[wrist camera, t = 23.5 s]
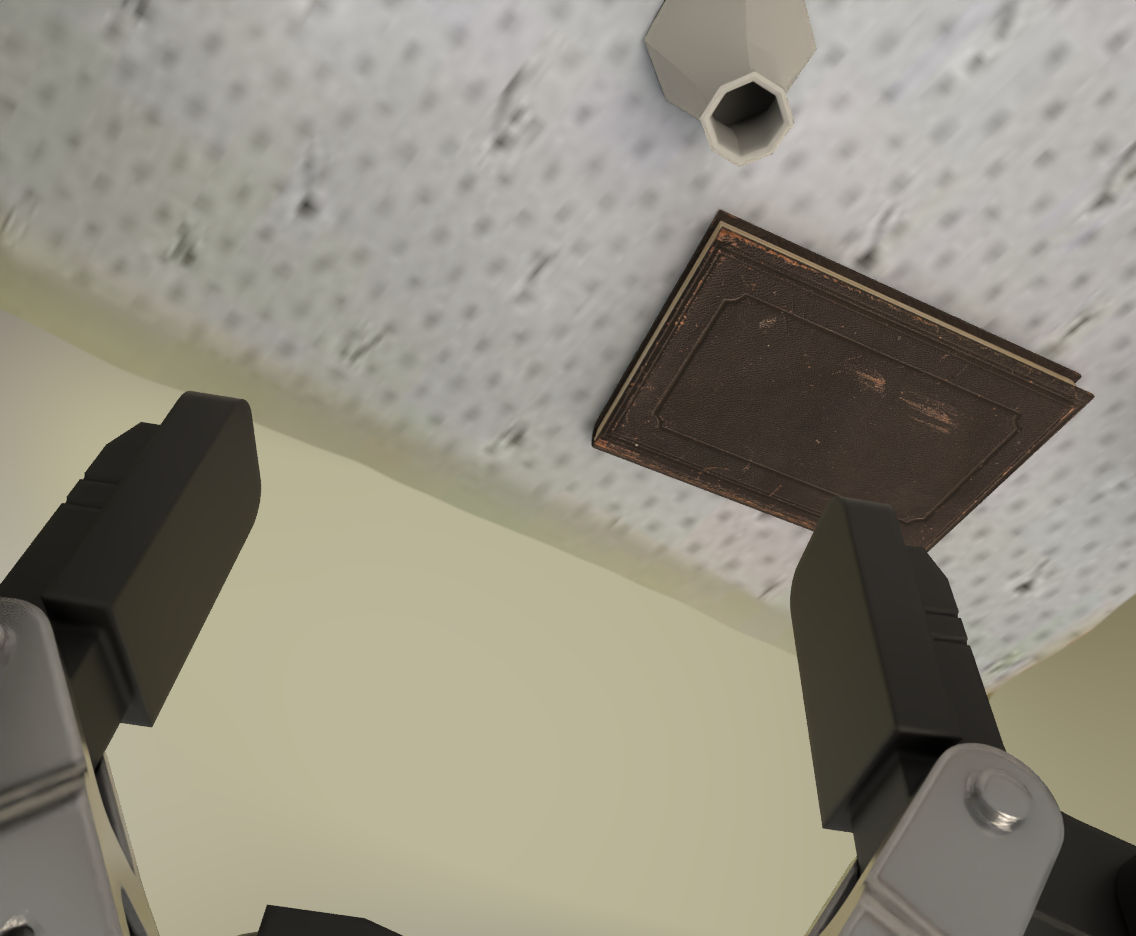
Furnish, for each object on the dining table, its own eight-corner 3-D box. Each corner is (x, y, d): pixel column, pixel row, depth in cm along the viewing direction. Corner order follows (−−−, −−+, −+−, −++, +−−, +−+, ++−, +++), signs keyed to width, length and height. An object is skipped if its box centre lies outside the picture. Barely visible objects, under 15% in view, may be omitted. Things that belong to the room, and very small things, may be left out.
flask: (748, -93, 35) (773, -42, 27) (844, 48, 38) (890, 129, 31) (615, 36, 38) (605, 113, 31) (713, 155, 42) (725, 251, 34)
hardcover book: (719, 208, 43) (722, 229, 42) (1079, 373, 48) (1095, 397, 46) (592, 428, 53) (589, 452, 52) (899, 547, 58) (906, 572, 56)
